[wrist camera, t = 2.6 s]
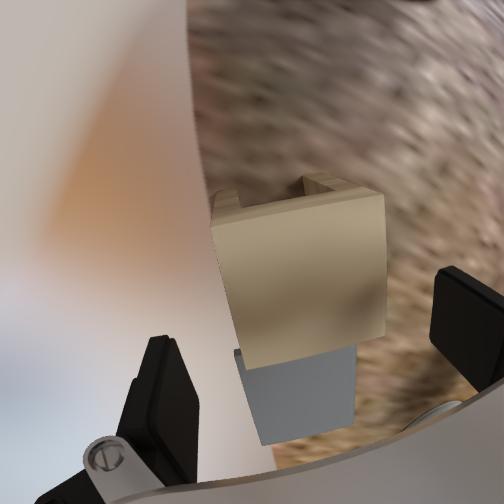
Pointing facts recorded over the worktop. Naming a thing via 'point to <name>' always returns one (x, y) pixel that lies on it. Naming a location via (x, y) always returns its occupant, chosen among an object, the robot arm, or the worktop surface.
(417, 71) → the worktop surface
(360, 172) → the worktop surface
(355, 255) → the wooden u-shaped block
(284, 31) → the worktop surface
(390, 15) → the worktop surface
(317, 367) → the mat
